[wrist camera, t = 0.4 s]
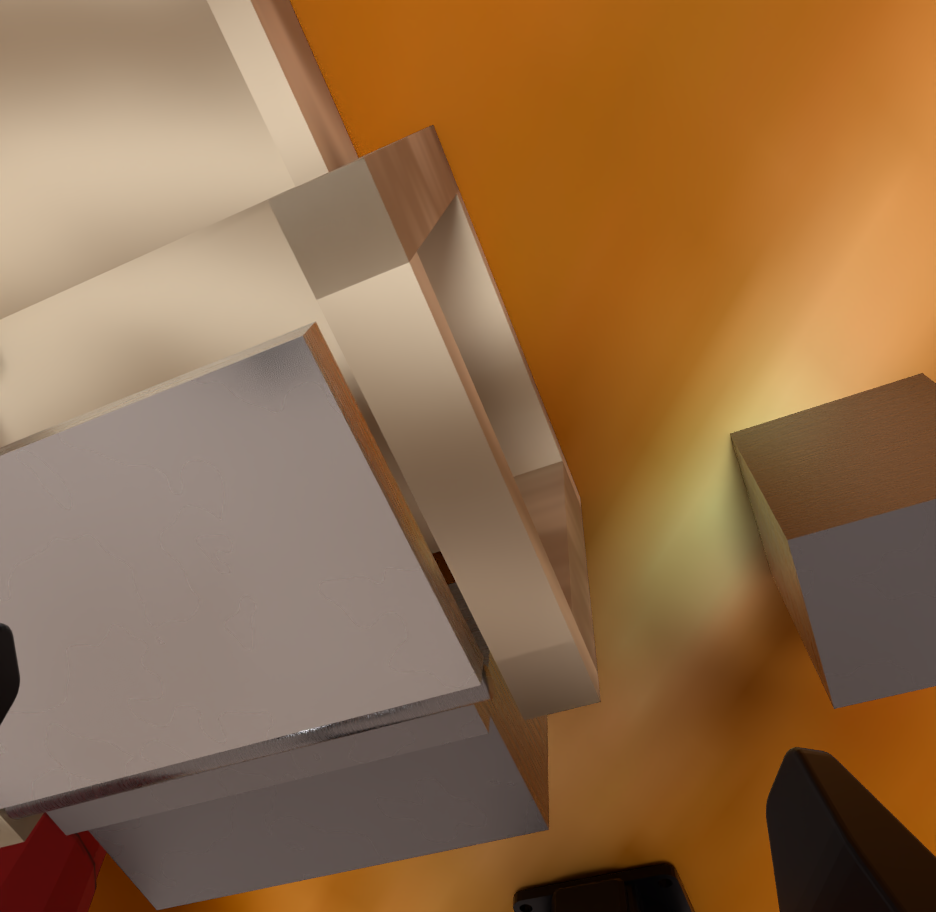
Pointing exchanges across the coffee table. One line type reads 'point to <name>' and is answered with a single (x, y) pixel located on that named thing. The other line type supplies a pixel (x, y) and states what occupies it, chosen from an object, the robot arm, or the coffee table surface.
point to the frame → (277, 286)
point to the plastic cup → (50, 870)
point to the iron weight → (853, 533)
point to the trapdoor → (245, 641)
